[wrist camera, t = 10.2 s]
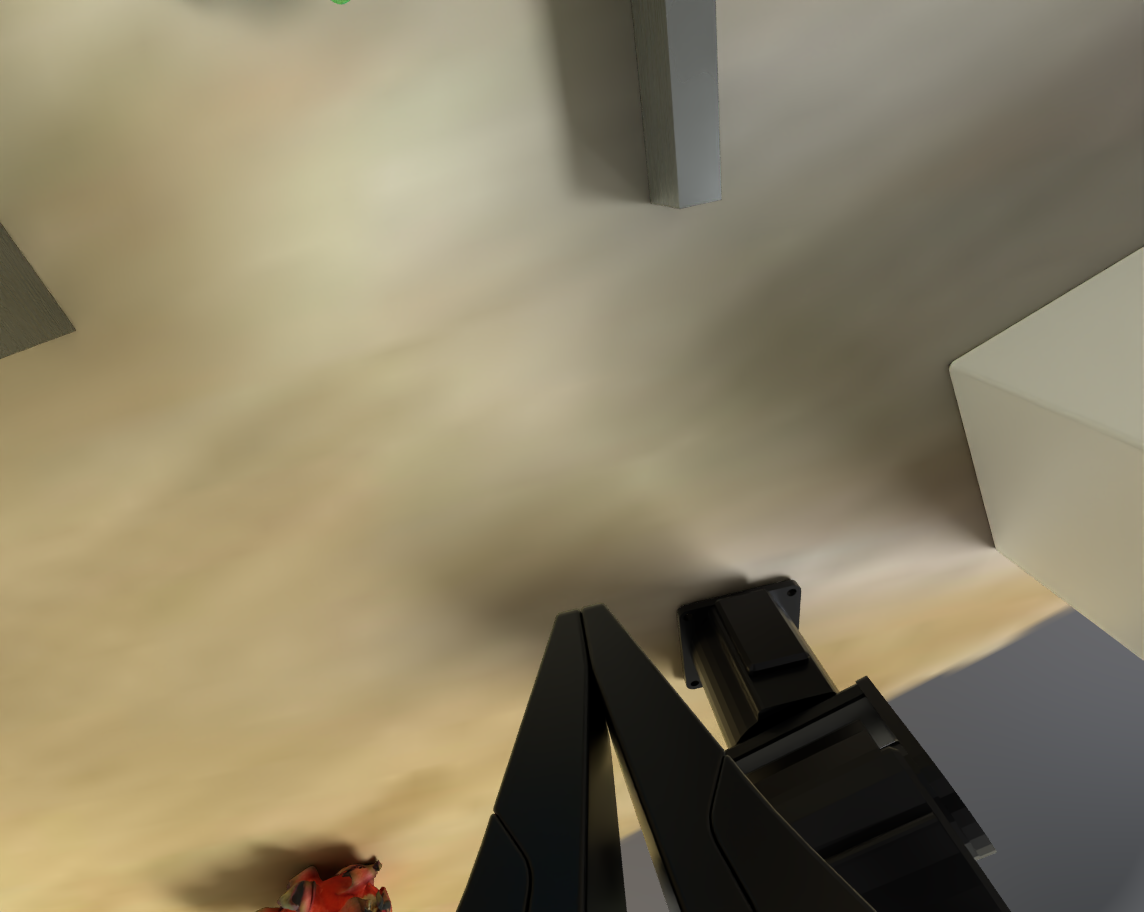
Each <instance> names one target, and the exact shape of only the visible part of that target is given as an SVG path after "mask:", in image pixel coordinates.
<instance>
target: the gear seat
mask: <svg viewBox="0 0 1144 912" xmlns="http://www.w3.org/2000/svg"><path fill="white" fill-rule="evenodd" d="M631 3H632V14H633V24H634V35H635V45H636V56H637V66H638V76H639V87H640V97H641V108H642V118H643V129H644V139H645V150H646V160H647V171H648V181H649V192H650V202H651V204H656V205H661V206H667V207H672V208H677V209H681V208H686V207H691V206H695V205H700V204H704V203H709V202H713V201H718V200H721V167H720V134H719V101H718V68H717V35H716V2H715V0H631ZM74 331H76V330H75V328H74V327H73V325H72V324H71V322H70V321H69V320H68V318H67V317H66V315H65V314H64V313H63V311H62V310H61V308H60V307H59V305H58V304H57V303H56V301H55V300H54V298H53V297H52V296H51V294H50V293H49V291H48V290H47V288H46V287H45V286H44V284H43V283H42V281H41V280H40V278H39V277H38V276H37V274H36V273H35V271H34V270H33V269H32V267H31V266H30V264H29V263H28V261H27V260H26V259H25V257H24V256H23V254H22V253H21V252H20V250H19V249H18V247H17V246H16V244H15V243H14V242H13V240H12V239H11V237H10V236H9V234H8V233H7V232H6V230H5V229H4V227H3V226H2V225H1V223H0V359H1V358H4V357H6V356H9V355H12V354H14V353H17V352H20V351H23V350H25V349H28V348H31V347H33V346H36V345H39V344H41V343H44V342H47V341H50V340H52V339H55V338H58V337H60V336H63V335H66V334H68V333H71V332H74Z"/></svg>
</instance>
